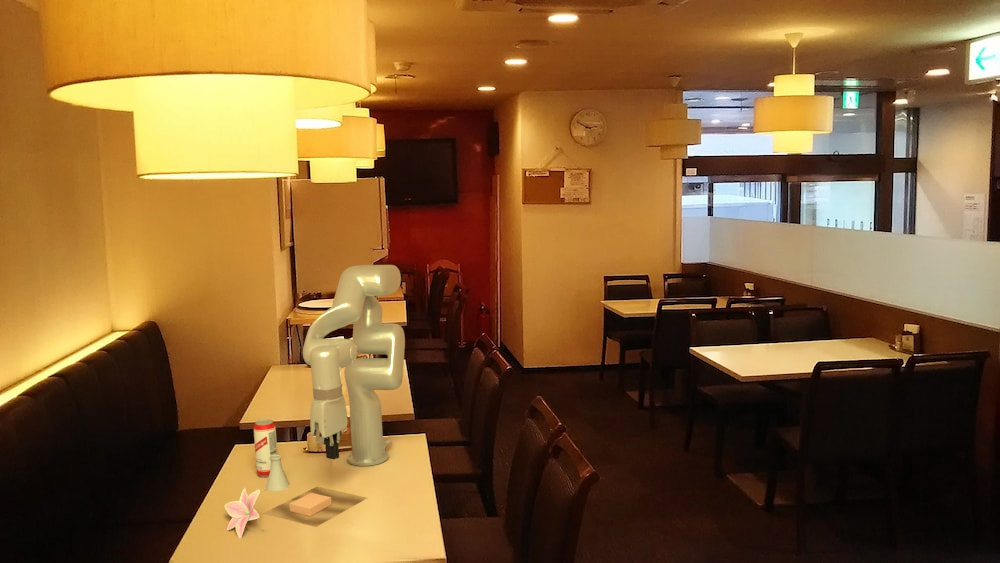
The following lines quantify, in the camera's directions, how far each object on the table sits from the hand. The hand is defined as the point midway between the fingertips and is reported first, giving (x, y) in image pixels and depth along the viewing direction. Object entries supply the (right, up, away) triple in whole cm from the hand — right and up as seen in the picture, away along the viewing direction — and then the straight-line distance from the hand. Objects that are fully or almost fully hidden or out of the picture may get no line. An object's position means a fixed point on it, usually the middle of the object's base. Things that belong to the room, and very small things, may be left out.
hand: (332, 457), depth 221 cm
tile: (-2, -10, -4) cm, 11 cm away
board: (-3, -13, -5) cm, 14 cm away
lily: (-19, -15, -15) cm, 28 cm away
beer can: (-24, -10, +21) cm, 33 cm away
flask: (-17, -11, +8) cm, 22 cm away
